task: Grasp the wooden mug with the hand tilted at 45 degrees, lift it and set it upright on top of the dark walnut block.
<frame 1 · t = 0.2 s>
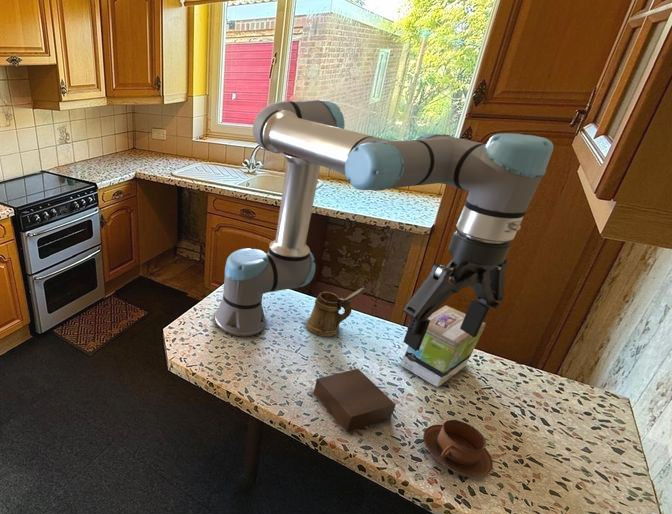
hand: (440, 339, 74), 28 cm above the countertop, tool pointing down, fingers open, 13 cm apart
tea box: (432, 366, 107), on the countertop
walnut block: (350, 406, 95), on the countertop
wooden mug: (329, 331, 121), on the countertop
cup and saucer: (453, 455, 84), on the countertop
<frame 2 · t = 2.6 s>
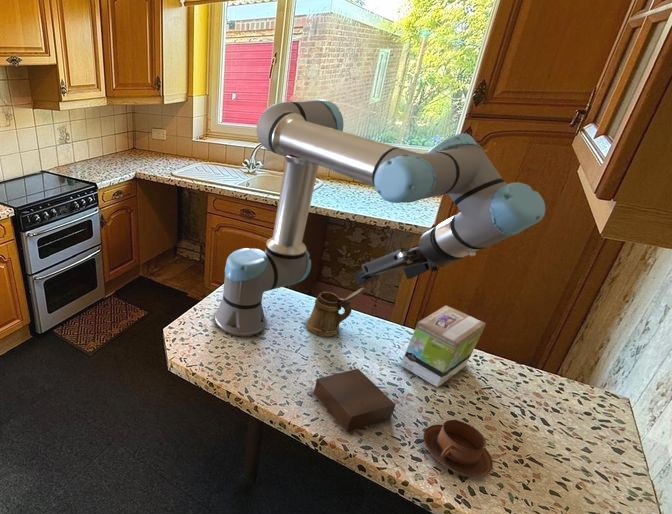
hand: (381, 276, 96), 27 cm above the countertop, tool tilted 40°, fingers open, 13 cm apart
nothing on the countertop moved.
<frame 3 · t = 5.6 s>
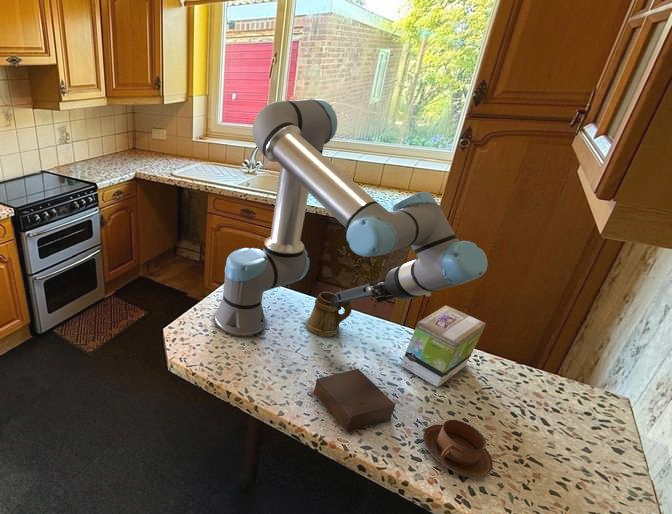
hand: (354, 300, 108), 16 cm above the countertop, tool tilted 45°, fingers open, 13 cm apart
nothing on the countertop moved.
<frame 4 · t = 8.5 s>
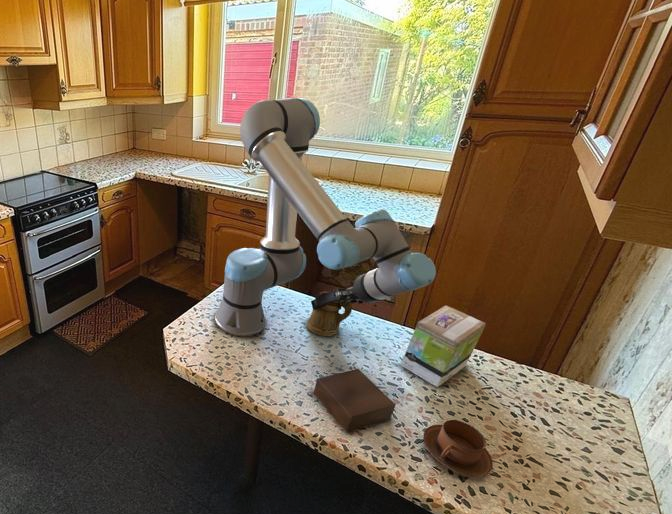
hand: (327, 303, 120), 8 cm above the countertop, tool tilted 45°, fingers closed on wooden mug, 9 cm apart
wooden mug: (329, 331, 121), on the countertop, touching gripper
everything else where it was.
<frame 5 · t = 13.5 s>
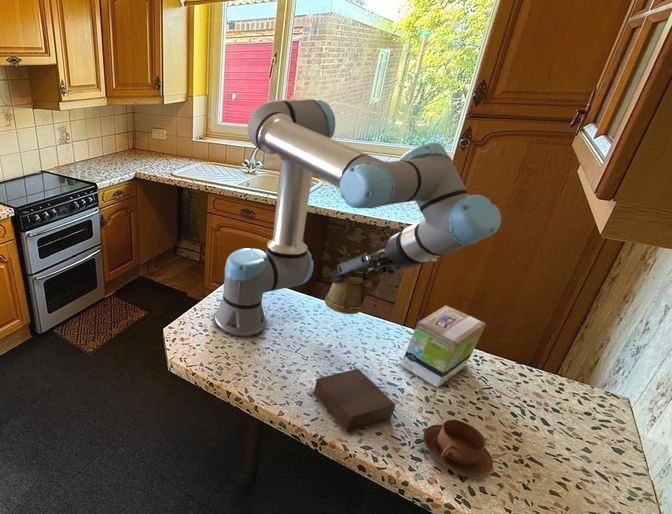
hand: (350, 275, 101), 25 cm above the countertop, tool tilted 45°, fingers closed on wooden mug, 9 cm apart
wooden mug: (351, 309, 102), point 17 cm above the countertop, touching gripper
everything else where it was.
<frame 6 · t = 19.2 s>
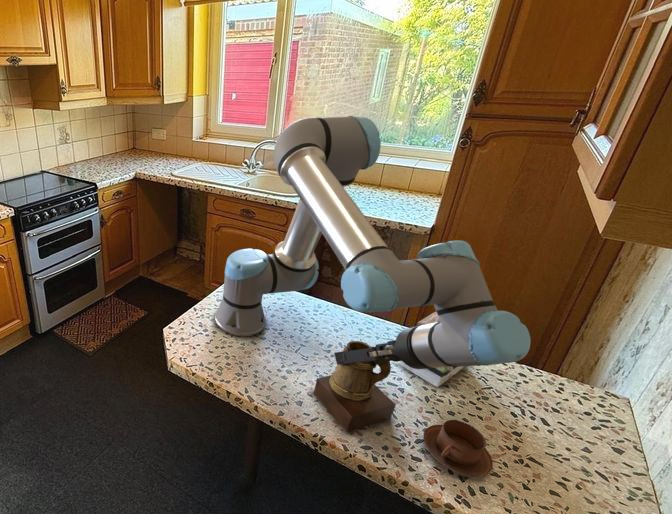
hand: (352, 356, 92), 12 cm above the countertop, tool tilted 45°, fingers closed on wooden mug, 7 cm apart
wooden mug: (359, 392, 93), point 5 cm above the countertop, touching gripper, hand, walnut block
everything else where it was.
when the fingers open (12 cm above the countertop, at t = 19.2 s): wooden mug stays where it is, resting on walnut block.
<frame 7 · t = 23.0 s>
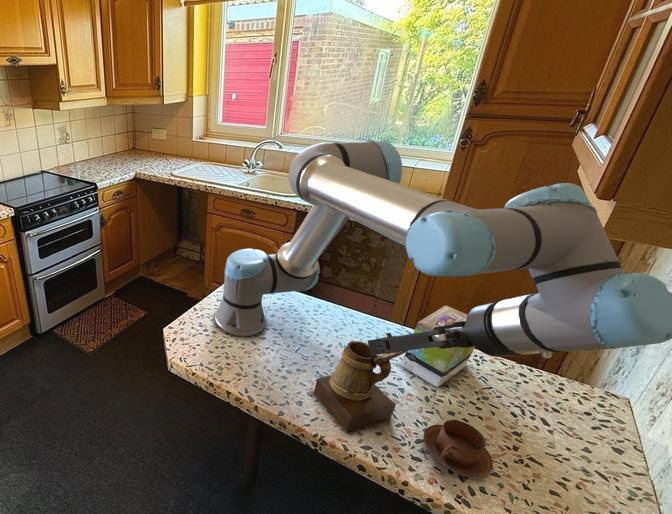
hand: (403, 343, 75), 26 cm above the countertop, tool tilted 45°, fingers open, 13 cm apart
wooden mug: (359, 392, 93), point 5 cm above the countertop, touching walnut block
everything else where it was.
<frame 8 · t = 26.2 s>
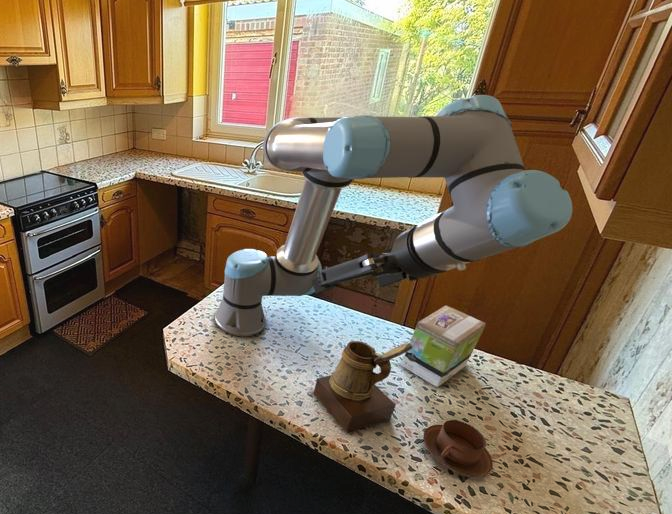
hand: (347, 283, 77), 36 cm above the countertop, tool tilted 45°, fingers open, 13 cm apart
nothing on the countertop moved.
at the end: wooden mug inside the target area on the walnut block (0.8 cm from its centre), point 4.8 cm above the walnut block's base; wooden mug tilted 0°; the gripper is holding nothing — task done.
